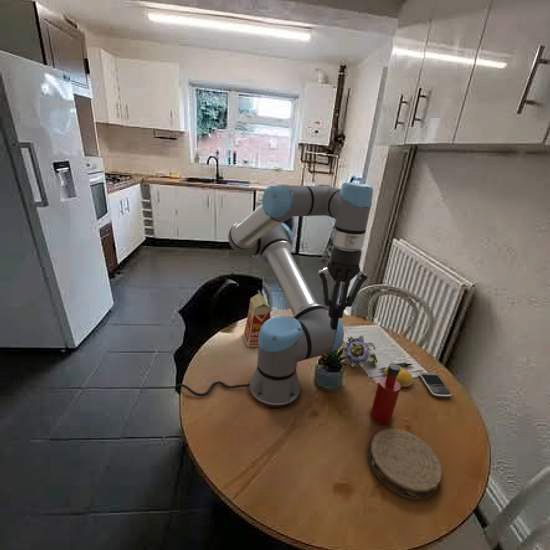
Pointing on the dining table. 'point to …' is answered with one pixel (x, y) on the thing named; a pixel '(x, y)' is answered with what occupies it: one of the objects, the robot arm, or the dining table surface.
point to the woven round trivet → (405, 463)
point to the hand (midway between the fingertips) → (333, 327)
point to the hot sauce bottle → (386, 396)
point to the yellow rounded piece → (402, 377)
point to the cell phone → (434, 385)
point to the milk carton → (256, 319)
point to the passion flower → (359, 351)
